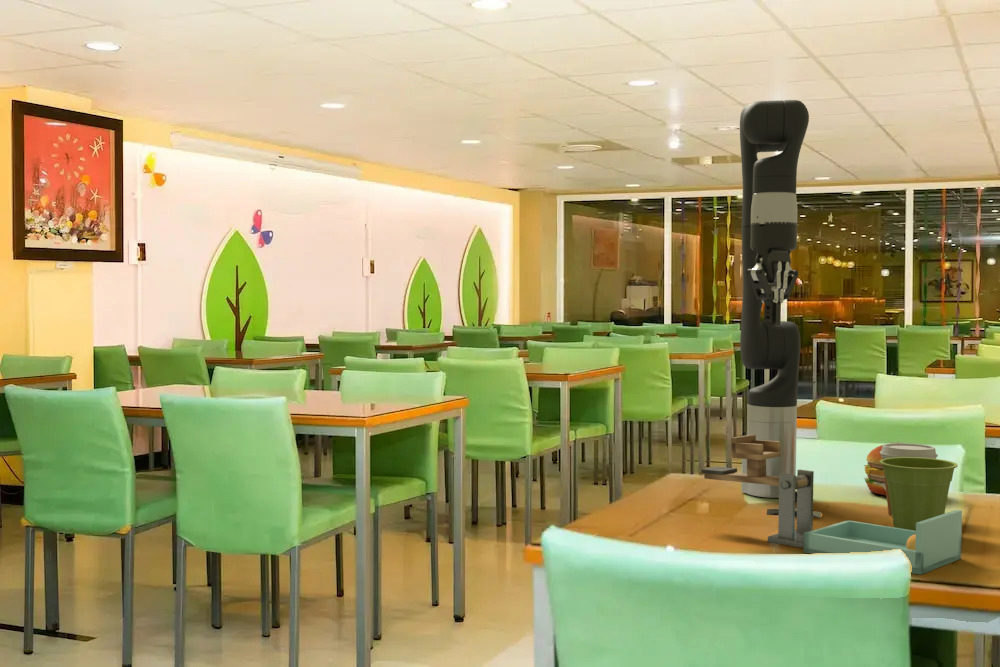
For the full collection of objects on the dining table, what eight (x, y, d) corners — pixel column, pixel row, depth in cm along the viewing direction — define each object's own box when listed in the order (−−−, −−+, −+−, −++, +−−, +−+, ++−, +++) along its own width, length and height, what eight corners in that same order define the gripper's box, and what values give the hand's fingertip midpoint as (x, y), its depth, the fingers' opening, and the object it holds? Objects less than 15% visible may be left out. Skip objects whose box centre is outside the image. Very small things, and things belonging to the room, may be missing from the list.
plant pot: (876, 521, 185) (878, 455, 185) (952, 526, 182) (953, 458, 182) (879, 535, 174) (881, 465, 174) (960, 541, 171) (961, 469, 170)
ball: (918, 563, 155) (898, 550, 157) (928, 559, 157) (908, 546, 159) (928, 544, 154) (908, 531, 156) (937, 540, 156) (918, 528, 158)
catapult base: (828, 540, 170) (830, 472, 170) (802, 548, 165) (804, 478, 164) (794, 534, 175) (795, 467, 174) (767, 541, 169) (768, 473, 169)
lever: (812, 487, 171) (811, 438, 171) (792, 492, 167) (791, 441, 167) (719, 478, 183) (718, 432, 183) (698, 482, 179) (697, 435, 179)
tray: (803, 553, 162) (804, 505, 161) (847, 539, 171) (848, 494, 171) (920, 574, 149) (921, 523, 149) (960, 558, 159) (962, 510, 159)
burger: (851, 494, 211) (852, 443, 211) (879, 486, 222) (880, 436, 221) (922, 503, 202) (923, 449, 202) (947, 494, 213) (948, 443, 212)
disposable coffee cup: (941, 521, 186) (943, 451, 185) (882, 518, 188) (883, 449, 187) (931, 510, 195) (932, 443, 195) (875, 508, 197) (876, 442, 197)
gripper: (774, 224, 189) (773, 325, 190) (732, 220, 180) (730, 325, 180) (814, 222, 184) (812, 326, 185) (773, 218, 175) (771, 327, 175)
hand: (772, 325), depth 182 cm, fingers closed
